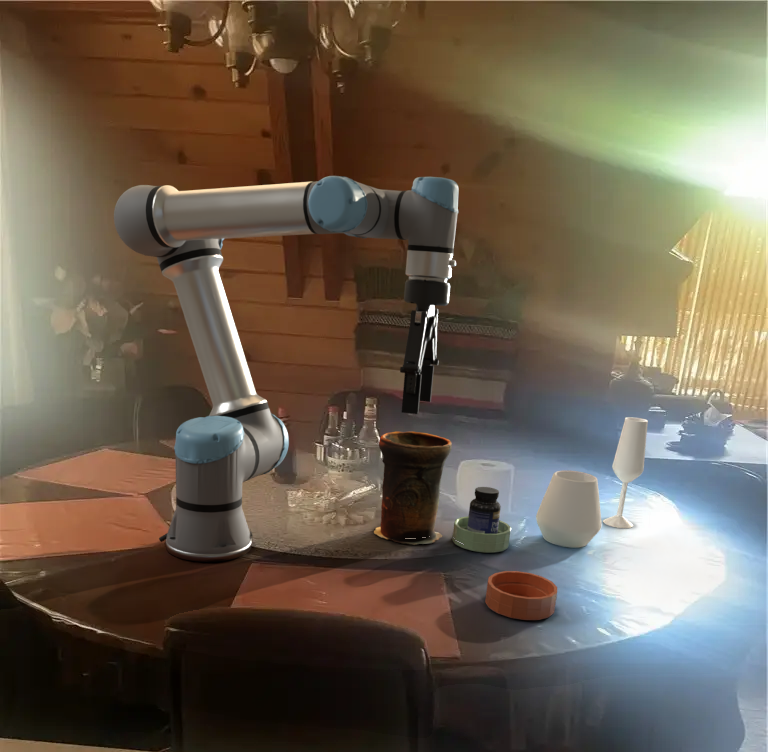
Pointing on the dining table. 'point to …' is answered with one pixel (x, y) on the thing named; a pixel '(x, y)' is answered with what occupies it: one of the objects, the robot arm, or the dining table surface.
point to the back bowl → (481, 537)
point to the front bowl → (521, 595)
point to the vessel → (411, 485)
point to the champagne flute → (628, 462)
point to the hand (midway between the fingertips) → (416, 406)
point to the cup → (570, 509)
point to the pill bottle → (484, 511)
